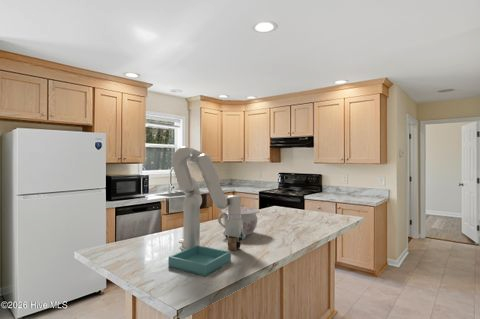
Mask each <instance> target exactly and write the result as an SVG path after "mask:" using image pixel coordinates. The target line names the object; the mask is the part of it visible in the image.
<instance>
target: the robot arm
mask: <svg viewBox="0 0 480 319" xmlns="http://www.w3.org/2000/svg"><path fill="white" fill-rule="evenodd" d="M188 162H189V163H191V164H194V165H197V167H198V169H199V172H200V174H201V176H202V179H203V181H204V182H205V183H204V184H205V186H206V188H207V190H208V193H209V195H210V198H211V200H212V202H213V204H214V206H215V208H216V209H218V210H222V209H225V208H228V214H226V215H227V216H228V218H227V220H226V225H225V228H224V231H223V232H222V234H223V236H224V237H225V238H226V240H227V241H228V237H230V236H232V237H236V238H237V244H236V248H237V249H238V248H241V242H242V240H243V239H245V238H246V237H247V236H245V234H244V233H243V223H242V219H241V207H242V206H241V205H242V196H241V195H239V194H230V195H229V194H225V193H224V191H223V188H222V186H221V182H220V177H219V175H218V173H217V172H218V171H216V168H215V166H214V164H213V159H212V157H211V155H209V154H207V153H204V152H201V151H199V150H197V149H195V148H193V147H190V146H181V147H179V148H177V149H176V151H175V152H174V153H173V154H172V159H171V165H172V168H173V171H174V174H175V175H174V176H175V180H176V182H177V185H178V188H179V190H180V191H181V192H182V193H184V197H185V198H184V199H183V203H182V210H183V234H182V235H183V237H182V238H183V239H182V238H180V239H179V241H178V243H179V244H181V245H180V250H181V251H184V250H186V249H189V248H191V247H193V246H196V245H198V246H203V245H202V244H201V243H200V242H201V241H200V240H201V211H200V210H201V209H200V207H201V205H202V203H203V197H202V194H201V191H200V188H199V184H198V182H197V180H196V178H194V177H193V176H192V174H191V172H190V168H189V166H188ZM238 250H239V249H238Z"/></svg>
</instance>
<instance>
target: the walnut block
mask: <svg viewBox="0 0 480 319" xmlns="http://www.w3.org/2000/svg"><path fill="white" fill-rule="evenodd" d="M236 244H237V238H236V237H232V236H230V237H228V240H227V250H228V251H229V250H230V251H234V250H235V251H234V252H236V251H238V250H239V248H238V250H237V248H236Z"/></svg>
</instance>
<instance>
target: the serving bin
mask: <svg viewBox="0 0 480 319" xmlns="http://www.w3.org/2000/svg"><path fill="white" fill-rule="evenodd" d="M167 262H168V265H167V266H168V268H171V269H175V270H179V271H183V272H186V273H190V274H195V275H199V276H202V277H207V276H209V275H210V274H212V273H214V272H216V271H217V270H220V269H221V268H222V267H224V266H226V265H228V264H229V263H231V262H232V251H229V250H224V249H218V248H213V247H208V246H203V245H202V246H198V245H196V246H193V247H191V248H189V249H186V250H184V251H183V250H181V251H179V252H176V253H175V254H172V255H169V256H168V261H167Z"/></svg>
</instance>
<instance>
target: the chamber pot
mask: <svg viewBox="0 0 480 319" xmlns="http://www.w3.org/2000/svg"><path fill="white" fill-rule="evenodd" d="M220 211H221V212H220V213H219V214H218V217H217V222H218V224H219V225H220V227H222V228H224V229H225V225H226V220H227V218H228V216H227V215H226V214H228V207H226V208H224V209H220ZM258 213H260V210H259V209H257V208H255V207H250V206H244V205H243V204H241V219H242V223H243V233H244V234H245V236H246V235H247V236H249V235H252V234H253V233H254V231H255V230H256V228H257V226H258V222H259V221H258V219H259V218H258V216H257V214H258ZM247 236H246V237H247Z"/></svg>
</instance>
